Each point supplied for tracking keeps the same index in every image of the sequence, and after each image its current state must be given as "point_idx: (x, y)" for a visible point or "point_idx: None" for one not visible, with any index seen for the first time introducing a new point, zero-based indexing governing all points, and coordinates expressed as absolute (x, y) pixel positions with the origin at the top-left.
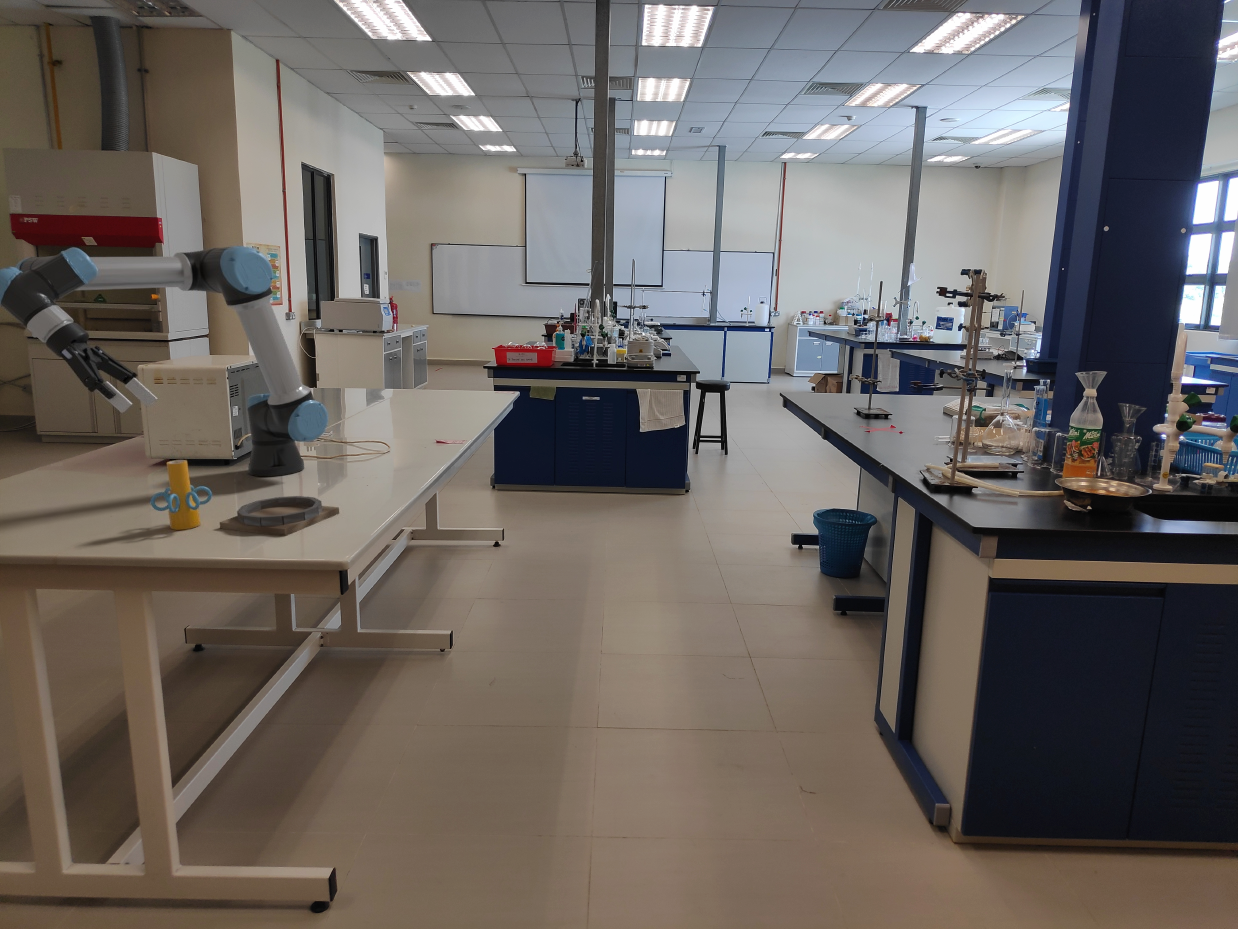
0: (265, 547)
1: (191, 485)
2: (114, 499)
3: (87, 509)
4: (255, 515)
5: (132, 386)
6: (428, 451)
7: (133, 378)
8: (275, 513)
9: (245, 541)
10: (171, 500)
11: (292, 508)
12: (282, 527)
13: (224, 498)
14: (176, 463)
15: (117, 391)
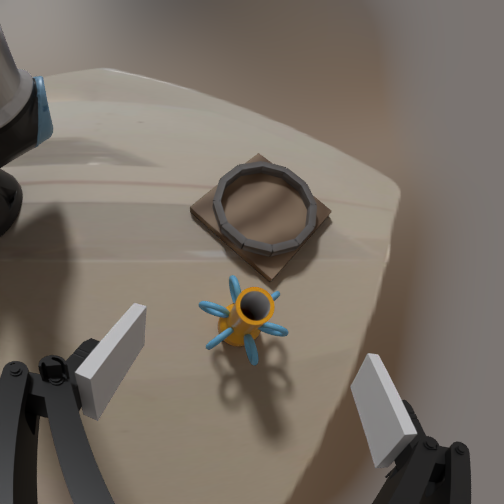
0: (361, 236)
1: (211, 302)
2: None
3: None
4: (304, 231)
5: (105, 388)
6: None
7: (90, 379)
8: (256, 213)
9: (335, 253)
10: (286, 329)
11: (239, 194)
12: (323, 212)
13: (93, 277)
14: (271, 305)
15: (395, 394)
